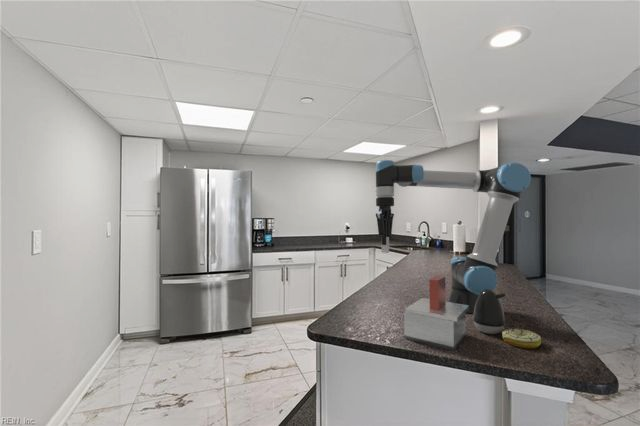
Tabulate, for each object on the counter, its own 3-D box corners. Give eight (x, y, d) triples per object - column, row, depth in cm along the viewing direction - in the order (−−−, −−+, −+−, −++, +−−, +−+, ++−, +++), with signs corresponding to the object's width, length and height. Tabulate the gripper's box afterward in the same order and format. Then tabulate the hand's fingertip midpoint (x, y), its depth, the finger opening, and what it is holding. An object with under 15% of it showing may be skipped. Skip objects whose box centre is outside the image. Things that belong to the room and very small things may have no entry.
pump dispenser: (505, 339, 104) (505, 294, 104) (471, 333, 110) (471, 290, 110) (506, 330, 113) (505, 288, 113) (474, 324, 118) (474, 285, 118)
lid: (405, 311, 105) (405, 278, 105) (422, 301, 118) (422, 271, 118) (457, 321, 95) (456, 285, 95) (469, 308, 108) (468, 276, 108)
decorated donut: (507, 334, 109) (507, 324, 109) (544, 343, 101) (544, 332, 101) (498, 343, 101) (498, 331, 102) (537, 353, 94) (537, 341, 94)
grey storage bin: (404, 338, 106) (404, 311, 106) (420, 324, 118) (420, 301, 118) (453, 350, 96) (453, 321, 96) (465, 334, 108) (465, 309, 109)
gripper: (383, 198, 139) (383, 250, 139) (369, 196, 129) (370, 253, 128) (399, 197, 134) (399, 251, 134) (386, 196, 124) (386, 254, 124)
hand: (385, 252), depth 131 cm, fingers closed
